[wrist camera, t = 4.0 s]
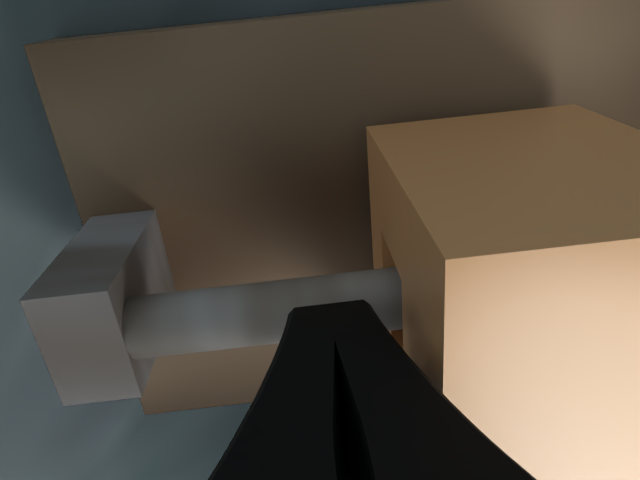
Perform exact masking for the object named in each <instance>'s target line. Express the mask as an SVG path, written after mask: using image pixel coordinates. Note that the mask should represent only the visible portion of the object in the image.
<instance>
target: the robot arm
mask: <svg viewBox="0 0 640 480" xmlns="http://www.w3.org/2000/svg"><path fill="white" fill-rule="evenodd" d="M208 480H537V479H535V478H534V477H533V476H532V475H531V474H530V473H528V472H527V471H526V470H525V469H524V468H522V467H521V466H520V465H519V464H518V463H517V462H515V461H514V460H513V459H512V458H511V457H509V456H508V455H507V454H506V453H505V452H504V451H503V450H501V449H500V448H499V447H498V446H497V445H496V444H495V443H494V442H492V441H491V440H490V439H489V438H488V437H487V436H486V435H485V434H484V433H483V432H482V431H480V430H479V429H478V428H477V427H476V426H475V425H474V424H473V423H472V422H471V421H470V420H469V419H468V418H467V417H466V416H465V415H464V414H463V413H462V412H461V411H460V410H459V409H458V408H457V407H456V406H455V405H454V404H453V403H452V402H451V401H450V400H449V399H448V398H447V397H446V396H445V395H444V394H443V393H442V392H441V391H440V390H439V389H438V388H437V387H436V386H435V385H434V384H433V383H432V381H431V380H430V379H429V378H428V377H427V376H426V375H425V374H424V373H423V371H422V370H421V369H420V368H419V367H418V366H417V365H416V364H415V363H414V361H413V360H412V359H411V358H410V357H409V356H408V355H407V353H406V352H405V351H404V350H403V349H402V347H401V346H400V345H399V344H398V342H397V341H396V340H395V339H394V337H393V336H392V335H391V334H390V332H389V331H388V330H387V328H386V327H385V326H384V324H383V323H382V321H381V320H380V319H379V317H378V316H377V314H376V313H375V311H374V310H373V308H372V306H371V305H370V304H369V303H368V302H366V301H365V300H364V299H363V300H354V301H346V302H337V303H328V304H320V305H311V306H303V307H294V308H293V309H292V310H291V312H290V313H289V314H288V317H287V322H286V325H285V328H284V331H283V334H282V337H281V340H280V343H279V345H278V348H277V350H276V353H275V355H274V357H273V360H272V362H271V365H270V367H269V369H268V371H267V373H266V375H265V377H264V379H263V382H262V384H261V386H260V388H259V390H258V392H257V394H256V396H255V398H254V400H253V402H252V404H251V406H250V408H249V410H248V412H247V414H246V415H245V417H244V419H243V421H242V423H241V424H240V426H239V428H238V430H237V432H236V433H235V435H234V437H233V439H232V441H231V442H230V444H229V446H228V448H227V449H226V451H225V453H224V455H223V456H222V458H221V459H220V461H219V463H218V464H217V466H216V468H215V469H214V471H213V472H212V474H211V476H210V477H209V479H208Z"/></svg>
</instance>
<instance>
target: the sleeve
mask: <svg viewBox="0 0 640 480" xmlns="http://www.w3.org/2000/svg"><path fill="white" fill-rule="evenodd" d="M366 134H367V153H368V172H369V191H370V210H371V229H372V248H373V267H374V269H381V268H390V267H396V268H397V271H398V273H399V276H400V278H401V281H402V320H403V329H400V330H391V331H389V332H390V334H391V335H392V336H393V337H394V339H395V340H396V341H397V342H398V344H399V345H400V346H401V347H402V349H403V350H404V351H405V352H406V353H407V355H408V356H409V357H410V358H411V359H412V360H413V361H414V363H415V364H416V365H417V366H418V367H419V368H420V369H421V370H422V371H423V373H424V374H425V375H426V376H427V377H428V378H429V379H430V380H431V381H432V383H433V384H434V385H435V386H436V387H437V388H438V389H439V390H440V391H441V392H442V393H443V394H444V395H445V396H446V397H447V398H448V399H449V400H450V401H451V402H452V403H453V404H454V405H455V406H456V407H457V408H458V409H459V410H460V411H461V412H462V413H463V414H464V415H465V416H466V417H467V418H468V419H469V420H470V421H471V422H472V423H473V424H474V425H475V426H476V427H477V428H478V429H479V430H480V431H482V432H483V433H484V434H485V435H486V436H487V437H488V438H489V439H490V440H491V441H492V442H494V443H495V444H496V445H497V446H498V447H499V448H500V449H501V450H503V451H504V452H505V453H506V454H507V455H508V456H509V457H511V458H512V459H513V460H514V461H515V462H517V463H518V464H519V465H520V466H521V467H522V468H524V469H525V470H526V471H527V472H528V473H530V474H531V475H532V476H533V477H534V478H535V479H537V480H640V130H639V129H636V128H634V127H631V126H628V125H626V124H623V123H621V122H618V121H616V120H613V119H611V118H608V117H606V116H603V115H601V114H598V113H595V112H593V111H590V110H588V109H585V108H583V107H580V106H578V105H575V104H572V105H562V106H553V107H544V108H534V109H525V110H516V111H506V112H497V113H488V114H478V115H469V116H460V117H451V118H441V119H432V120H423V121H413V122H404V123H395V124H385V125H376V126H367V127H366Z"/></svg>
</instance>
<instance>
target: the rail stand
mask: <svg viewBox="0 0 640 480" xmlns="http://www.w3.org/2000/svg"><path fill="white" fill-rule="evenodd" d="M24 48H25V51H26V54H27V57H28V60H29V63H30V66H31V70H32V73H33V76H34V79H35V82H36V85H37V88H38V91H39V94H40V97H41V100H42V103H43V106H44V109H45V112H46V115H47V118H48V121H49V124H50V127H51V130H52V133H53V136H54V139H55V143H56V146H57V149H58V152H59V155H60V158H61V161H62V164H63V167H64V170H65V173H66V176H67V179H68V182H69V185H70V188H71V191H72V194H73V197H74V200H75V203H76V206H77V209H78V212H79V216H80V219H81V222H82V225H83V227H82V228H81V229H80V230H79V231H78V233H77V234H76V235H75V236H74V237H73V238H72V240H71V241H70V242H69V243H68V244H67V245H66V247H65V248H64V249H63V250H62V251H61V252H60V254H59V255H58V256H57V257H56V258H55V259H54V261H53V262H52V263H51V264H50V265H49V267H48V268H47V269H46V270H45V271H44V272H43V274H42V275H41V276H40V277H39V278H38V279H37V281H36V282H35V283H34V284H33V285H32V286H31V288H30V289H29V290H28V291H27V292H26V293H25V295H24V296H23V297H22V298H21V299H20V300H19V302H20V304H21V306H22V309H23V311H24V314H25V316H26V318H27V321H28V323H29V325H30V328H31V330H32V333H33V335H34V337H35V340H36V342H37V344H38V347H39V349H40V352H41V354H42V356H43V359H44V361H45V364H46V366H47V368H48V371H49V373H50V375H51V378H52V380H53V383H54V385H55V387H56V390H57V392H58V394H59V397H60V399H61V402H62V404H63V406H70V405H79V404H87V403H96V402H105V401H114V400H122V399H131V398H140V401H141V404H142V407H143V410H144V413H145V415H147V414H156V413H164V412H173V411H182V410H190V409H199V408H208V407H216V406H225V405H234V404H242V403H251V402H253V400H254V398H255V396H256V394H257V392H258V390H259V388H260V386H261V384H262V382H263V379H264V377H265V375H266V373H267V371H268V369H269V367H270V365H271V362H272V360H273V357H274V355H275V353H276V350H277V348H278V345H279V343H280V340H281V337H282V334H283V331H284V328H285V325H286V322H287V317H288V314H289V313H290V312H291V310H292V309H293V308H294V307H303V306H311V305H320V304H328V303H337V302H346V301H354V300H363V299H364V300H365V301H366V302H368V303H369V304H370V305H371V306H372V308H373V310H374V311H375V313H376V314H377V316H378V317H379V319H380V320H381V321H382V323H383V324H384V326H385V327H386V328H387V330H388V331H391V330H400V329H403V320H402V281H401V278H400V276H399V273H398V271H397V268H396V267H390V268H381V269H374V267H373V248H372V229H371V210H370V191H369V172H368V153H367V134H366V127H367V126H376V125H385V124H395V123H404V122H413V121H423V120H432V119H441V118H451V117H460V116H469V115H478V114H488V113H497V112H506V111H516V110H525V109H534V108H544V107H553V106H562V105H572V104H575V105H578V106H580V107H583V108H585V109H588V110H590V111H593V112H595V113H598V114H601V115H603V116H606V117H608V118H611V119H613V120H616V121H618V122H621V123H623V124H626V125H628V126H631V127H634V128H636V129H639V130H640V0H423V1H413V2H404V3H394V4H384V5H375V6H365V7H355V8H346V9H336V10H327V11H317V12H307V13H298V14H288V15H278V16H269V17H259V18H250V19H240V20H230V21H221V22H211V23H201V24H192V25H182V26H173V27H163V28H153V29H144V30H134V31H124V32H115V33H105V34H96V35H86V36H76V37H67V38H57V39H51V40H46V41H41V42H36V43H32V44H27V45H24Z"/></svg>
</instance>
